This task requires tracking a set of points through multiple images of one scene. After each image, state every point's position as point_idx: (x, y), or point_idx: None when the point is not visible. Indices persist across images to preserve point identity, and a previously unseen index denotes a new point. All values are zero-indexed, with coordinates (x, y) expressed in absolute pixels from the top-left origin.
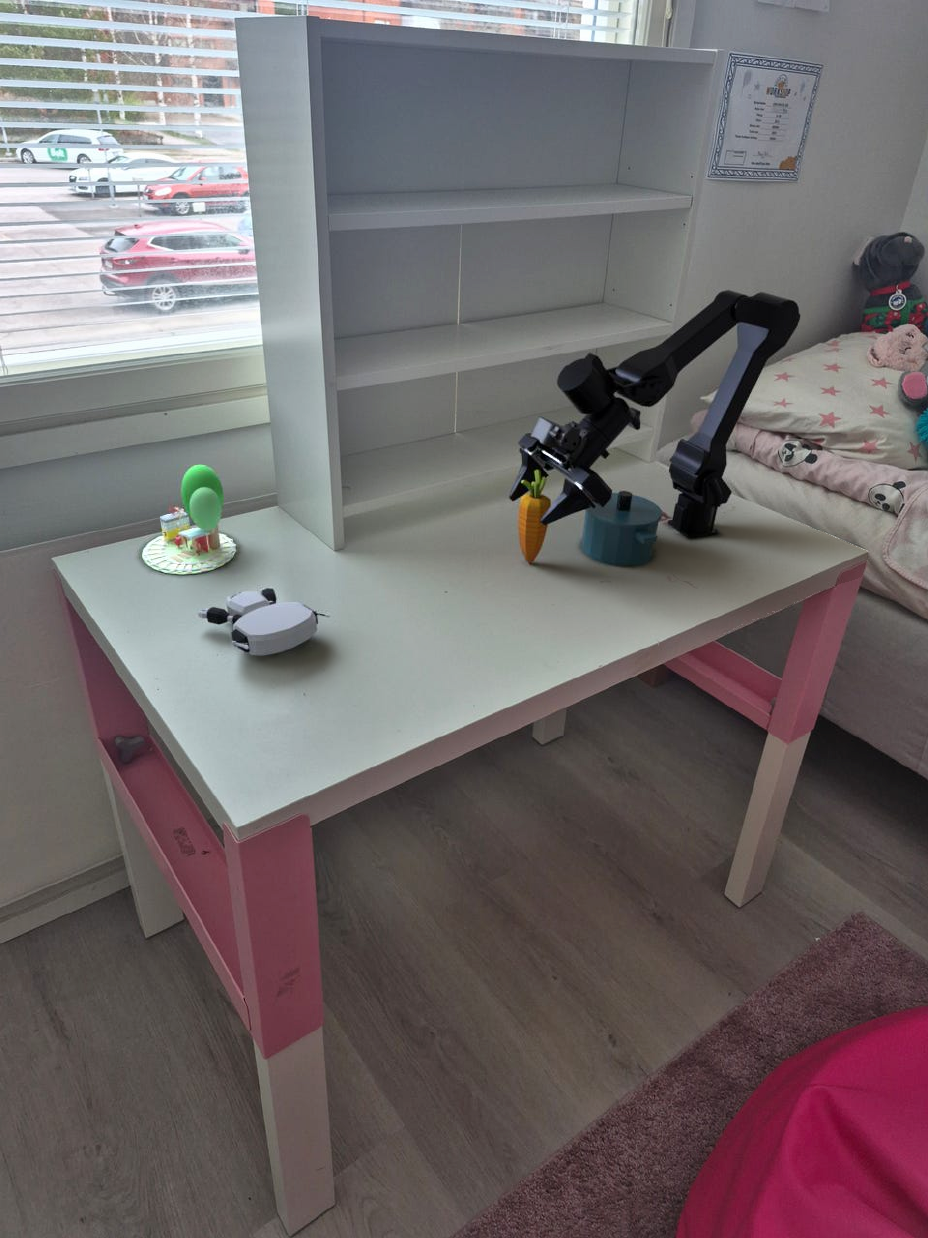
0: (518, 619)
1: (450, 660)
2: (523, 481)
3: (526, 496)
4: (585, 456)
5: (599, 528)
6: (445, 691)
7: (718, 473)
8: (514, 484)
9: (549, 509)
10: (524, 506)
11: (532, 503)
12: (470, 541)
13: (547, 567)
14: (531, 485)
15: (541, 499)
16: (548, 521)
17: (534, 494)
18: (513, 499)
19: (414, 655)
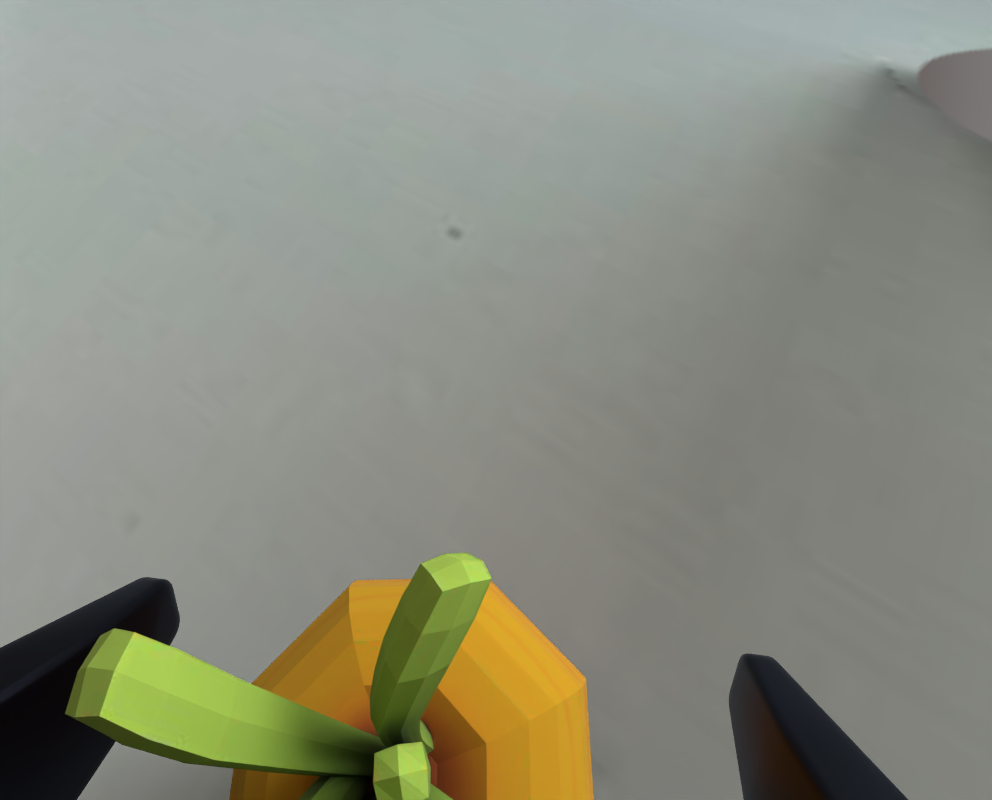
0: (154, 343)
1: (144, 85)
2: (434, 573)
3: (466, 666)
4: None
5: None
6: (62, 30)
7: None
8: (884, 786)
9: (21, 667)
10: (404, 580)
11: (321, 637)
12: (822, 549)
13: None
14: (408, 746)
15: (283, 790)
16: None
17: (348, 726)
18: (732, 698)
19: (224, 32)
